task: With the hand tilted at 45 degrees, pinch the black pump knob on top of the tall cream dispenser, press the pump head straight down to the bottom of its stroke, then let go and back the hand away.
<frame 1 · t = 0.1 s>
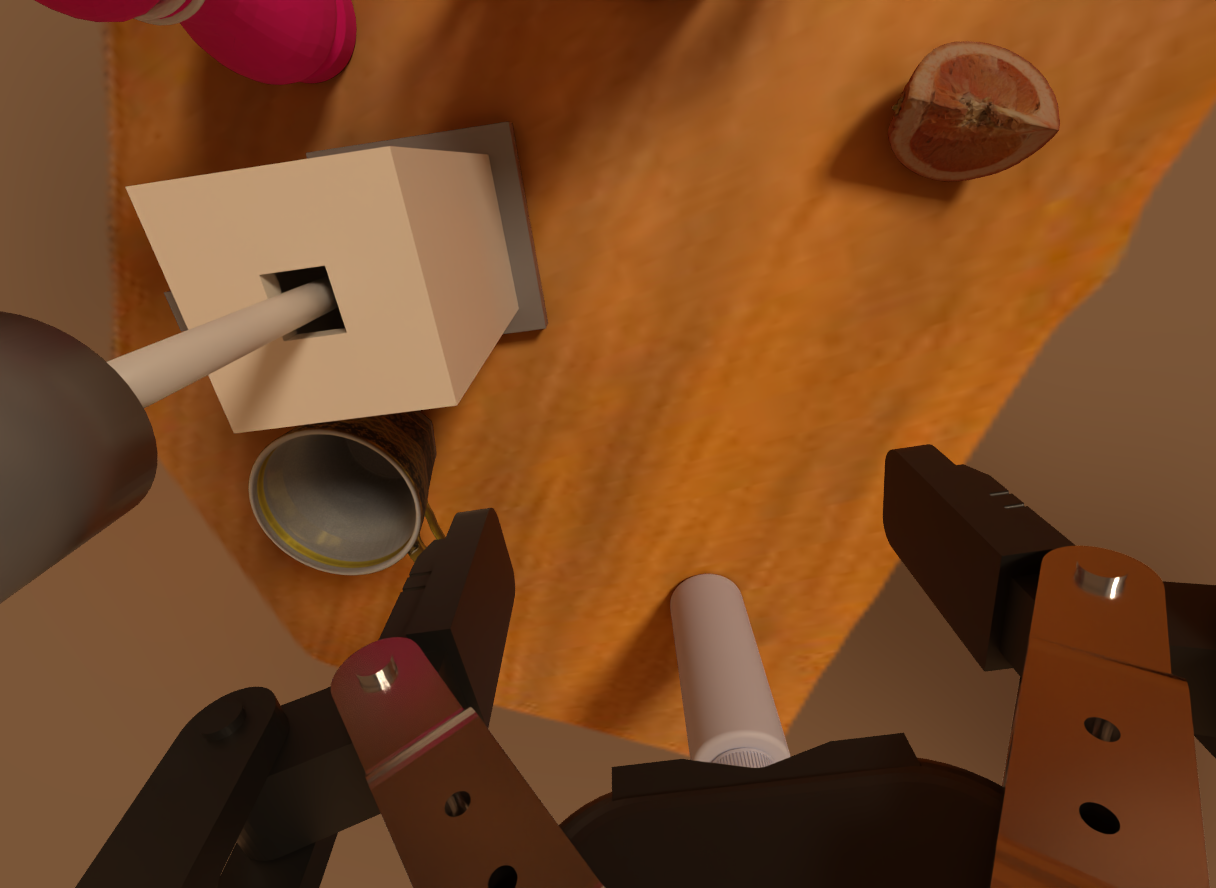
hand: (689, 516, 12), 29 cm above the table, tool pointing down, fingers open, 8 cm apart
dispenser: (439, 242, 38), on the table
pepper mill: (302, 19, 33), on the table
ceramic cup: (409, 448, 44), on the table
pump: (244, 331, 18), point 22 cm above the table, slide at 0.0 cm
fruit slice: (938, 116, 35), on the table
spray bottle: (704, 598, 50), on the table
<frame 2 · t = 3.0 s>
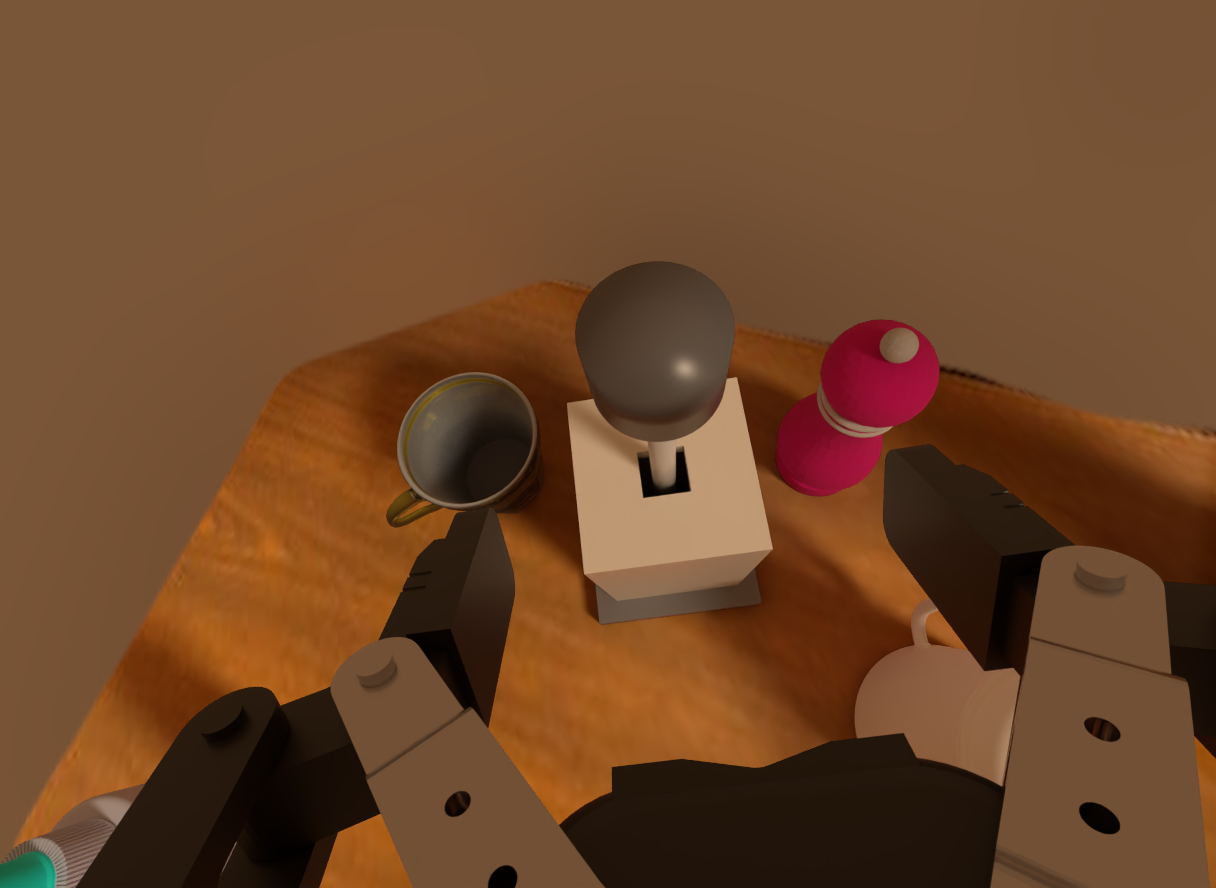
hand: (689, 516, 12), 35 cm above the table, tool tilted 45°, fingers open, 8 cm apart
dispenser: (668, 536, 47), on the table
pepper mill: (814, 460, 48), on the table
coffeepot: (929, 719, 41), on the table
ceramic cup: (492, 489, 50), on the table
pump: (662, 447, 26), point 22 cm above the table, slide at 0.0 cm
spray bottle: (284, 792, 44), on the table
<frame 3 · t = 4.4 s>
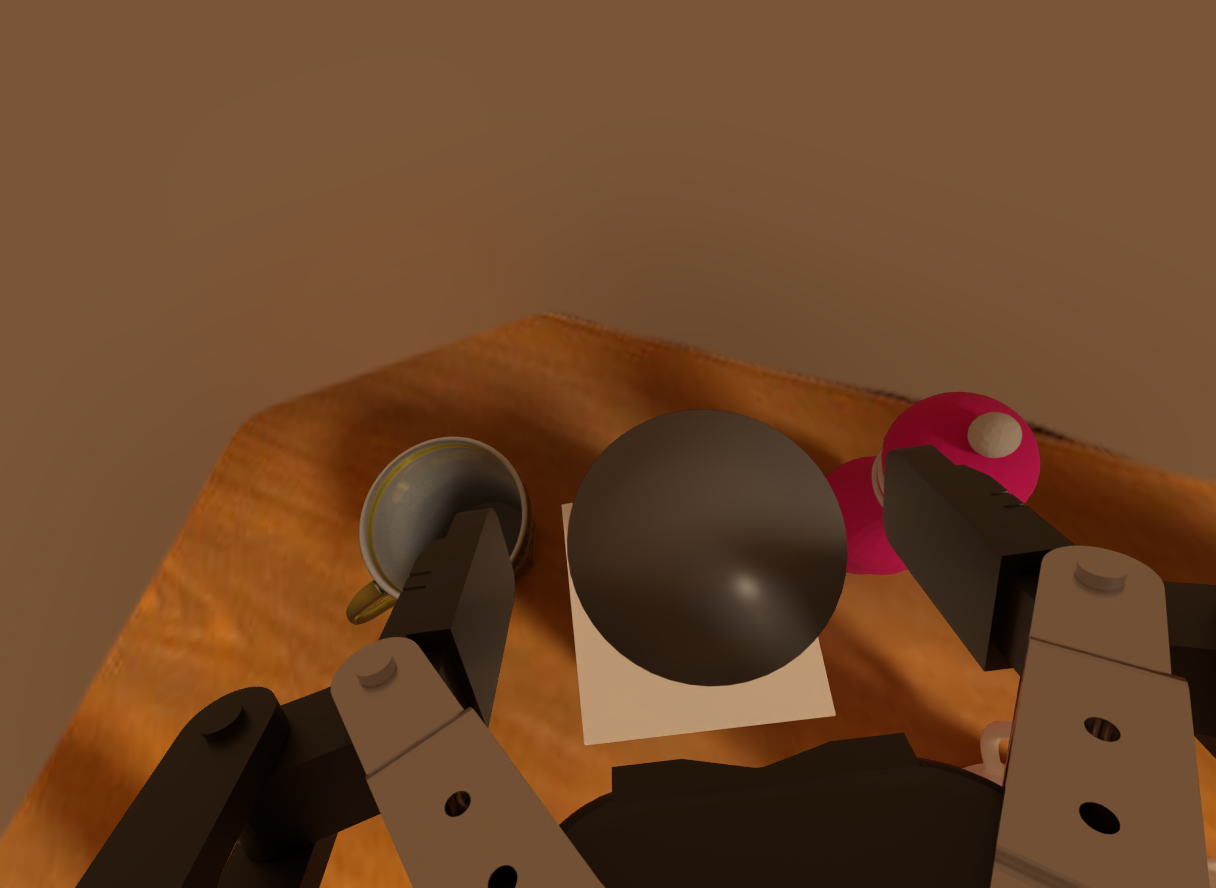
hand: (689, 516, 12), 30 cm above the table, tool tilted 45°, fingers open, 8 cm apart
dispenser: (683, 621, 40), on the table
pepper mill: (853, 529, 41), on the table
coffeepot: (1000, 854, 34), on the table
ceramic cup: (478, 561, 43), on the table
pump: (689, 593, 19), point 22 cm above the table, slide at 0.0 cm
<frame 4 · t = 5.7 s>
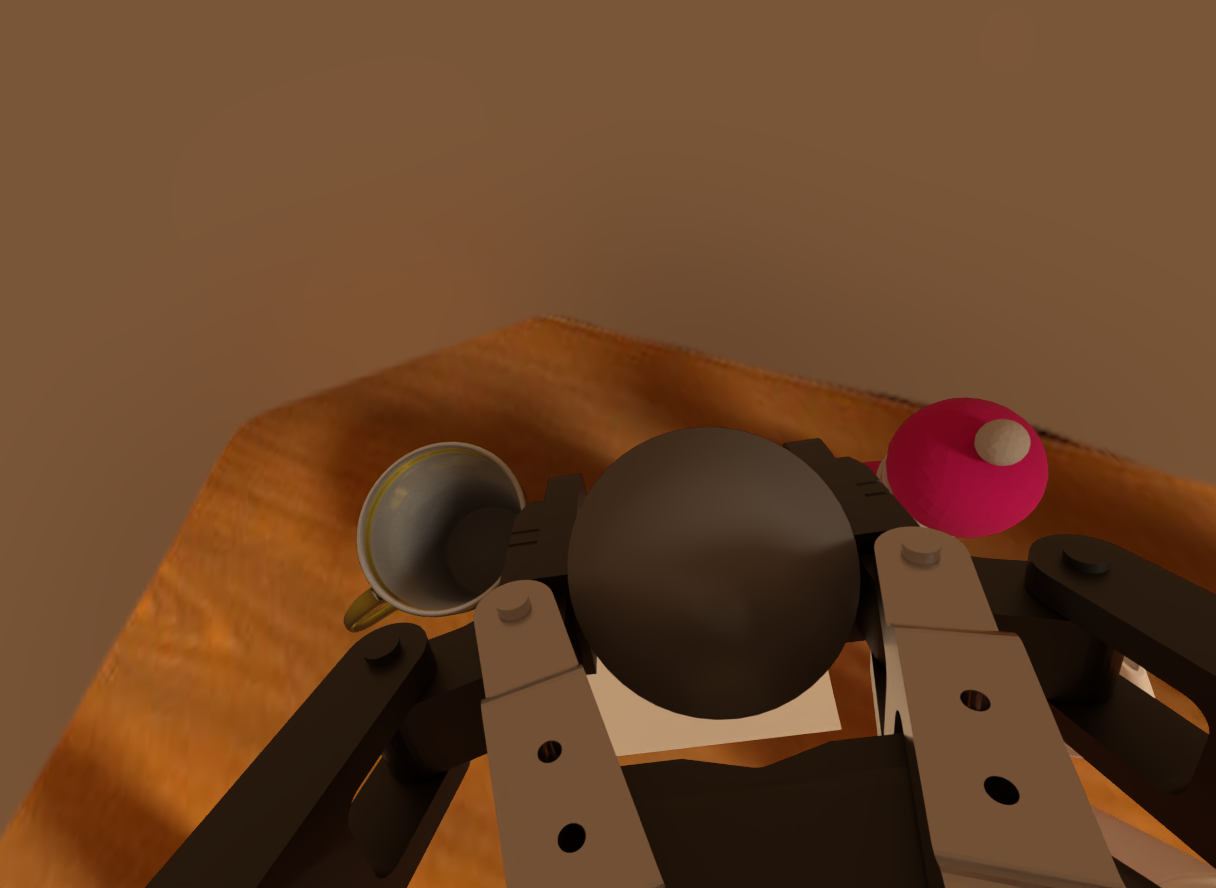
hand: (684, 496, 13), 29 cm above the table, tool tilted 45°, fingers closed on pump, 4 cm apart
dispenser: (684, 627, 40), on the table
pepper mill: (856, 533, 41), on the table
coffeepot: (1006, 864, 34), on the table
ceramic cup: (477, 566, 43), on the table
pump: (692, 606, 19), point 22 cm above the table, slide at 0.0 cm, touching gripper
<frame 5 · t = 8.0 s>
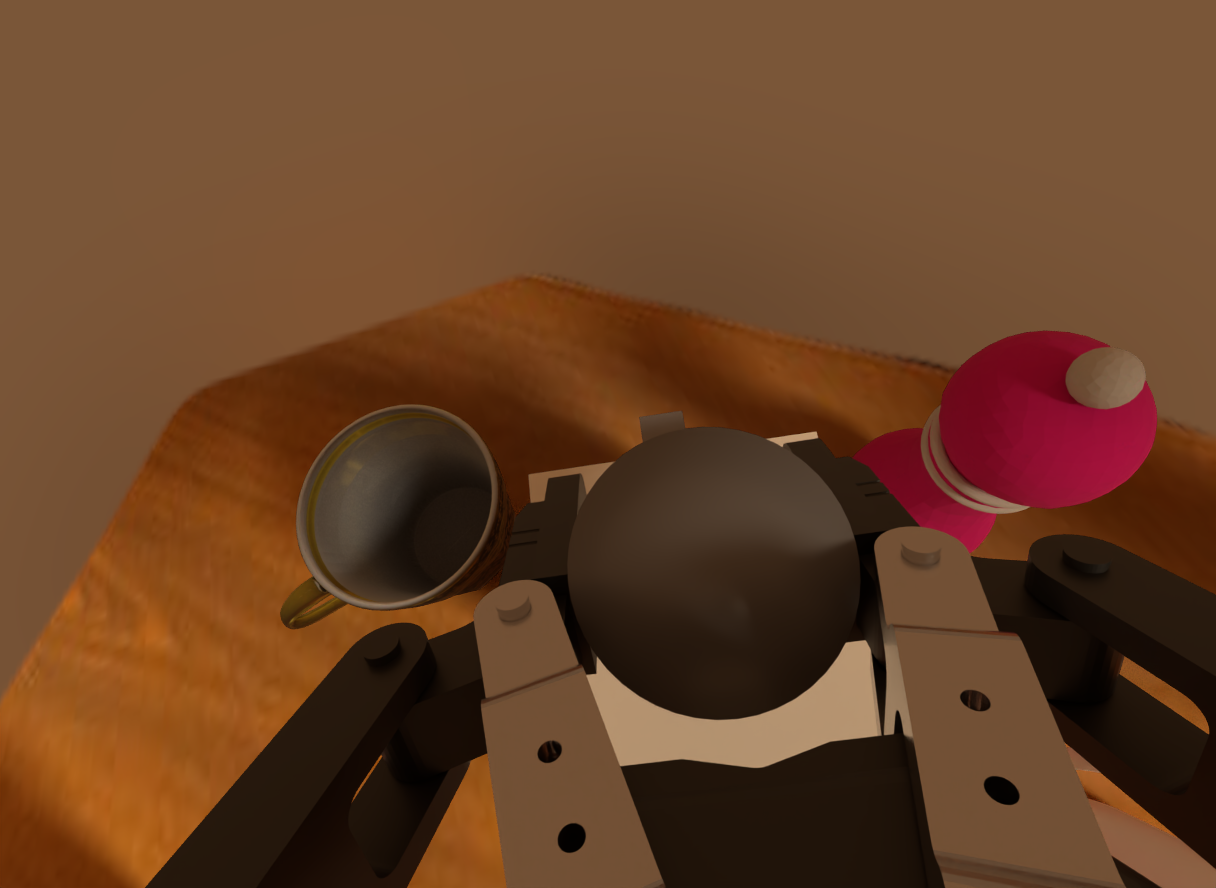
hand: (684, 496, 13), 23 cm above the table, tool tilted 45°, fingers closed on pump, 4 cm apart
dispenser: (685, 624, 34), on the table
pepper mill: (884, 516, 35), on the table
ceramic cup: (449, 555, 37), on the table
pump: (692, 606, 19), point 17 cm above the table, slide at 5.7 cm, touching gripper
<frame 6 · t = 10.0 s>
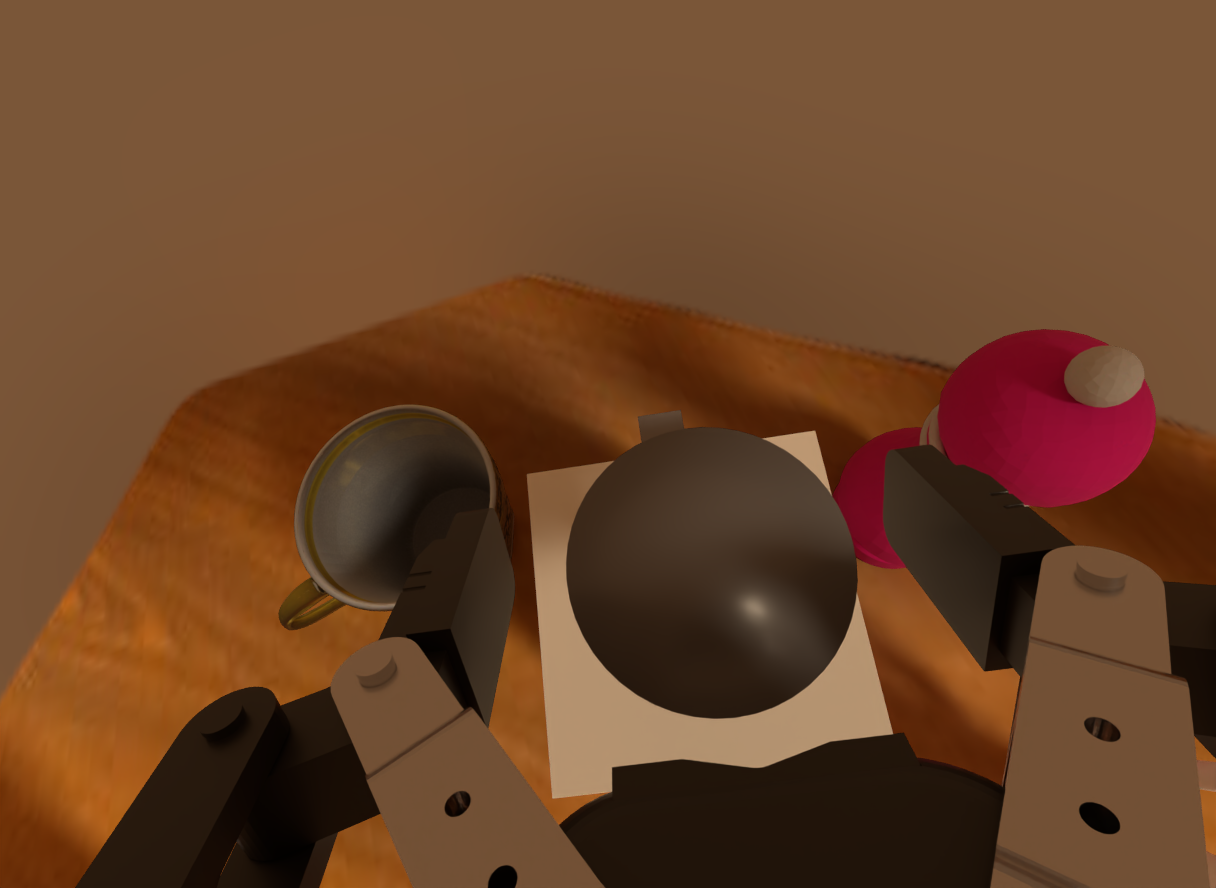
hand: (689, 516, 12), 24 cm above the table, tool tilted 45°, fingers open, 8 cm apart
dispenser: (684, 624, 34), on the table
pepper mill: (883, 516, 35), on the table
ceramic cup: (448, 555, 37), on the table
pump: (691, 605, 19), point 16 cm above the table, slide at 5.8 cm
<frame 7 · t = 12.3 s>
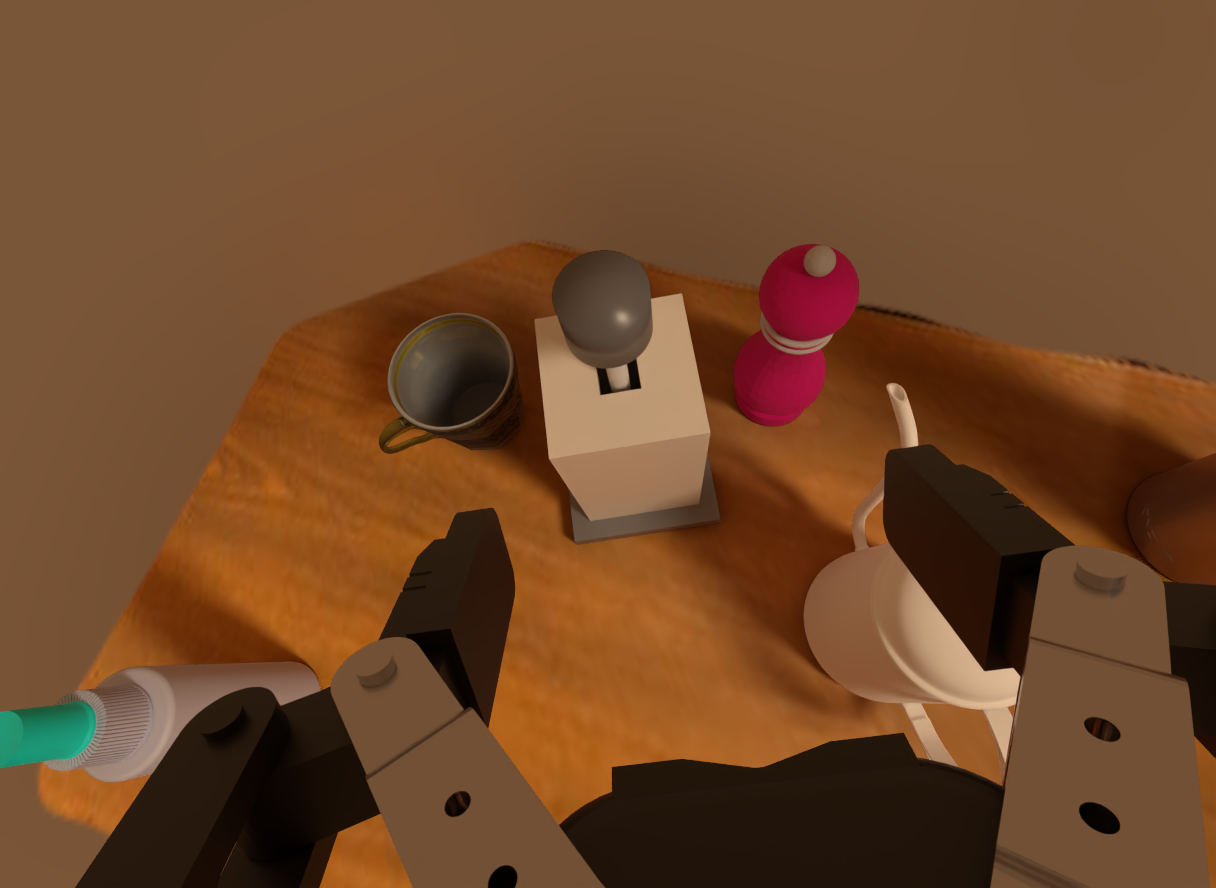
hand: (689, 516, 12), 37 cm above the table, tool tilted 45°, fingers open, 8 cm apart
dispenser: (637, 466, 52), on the table
pepper mill: (770, 395, 53), on the table
coffeepot: (871, 617, 46), on the table
ceramic cup: (477, 429, 55), on the table
pump: (620, 387, 36), point 16 cm above the table, slide at 5.8 cm
spray bottle: (289, 700, 48), on the table
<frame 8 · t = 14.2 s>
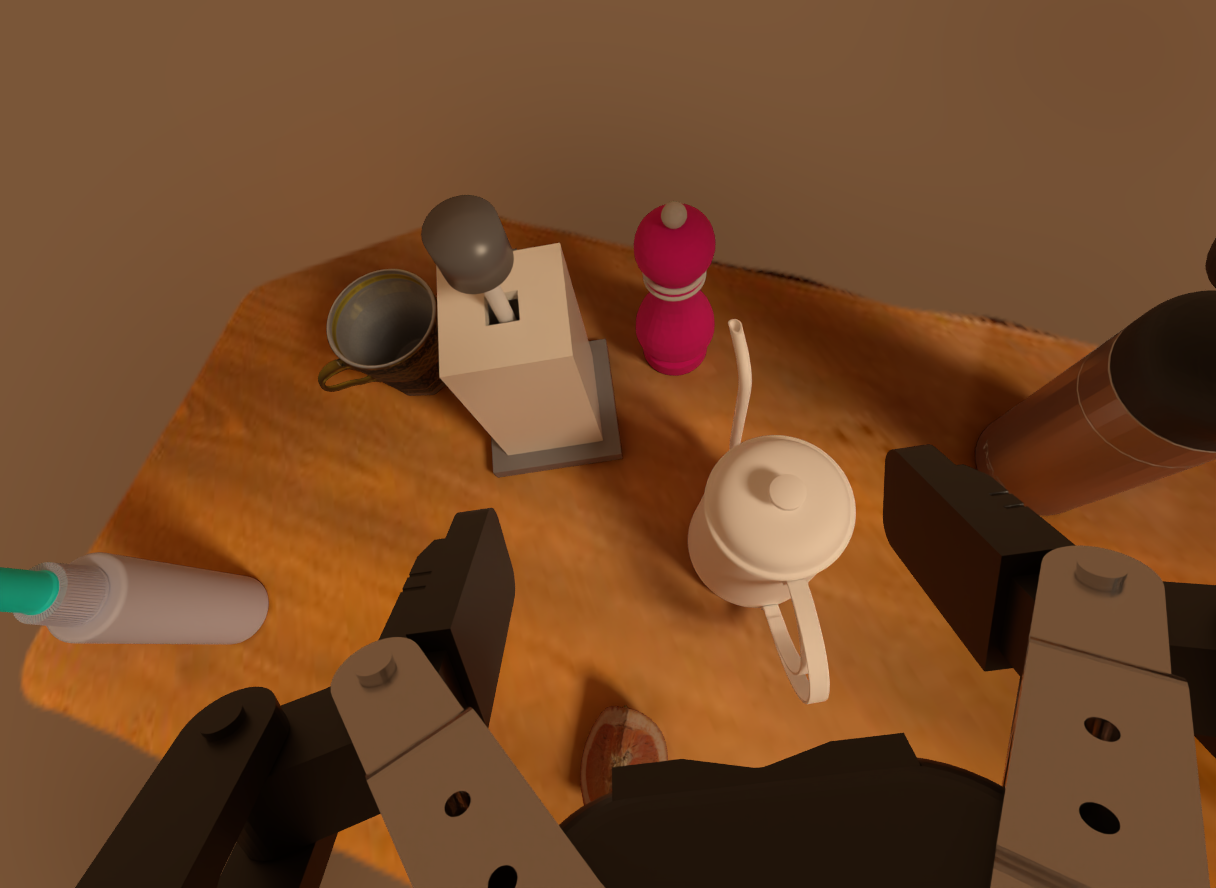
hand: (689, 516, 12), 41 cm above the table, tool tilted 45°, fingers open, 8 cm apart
dispenser: (554, 409, 58), on the table
pepper mill: (674, 348, 59), on the table
coffeepot: (748, 538, 52), on the table
ceramic cup: (415, 378, 61), on the table
pump: (509, 323, 42), point 16 cm above the table, slide at 5.8 cm
fruit slice: (626, 758, 48), on the table
spray bottle: (241, 610, 55), on the table
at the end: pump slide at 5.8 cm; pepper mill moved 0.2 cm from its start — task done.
